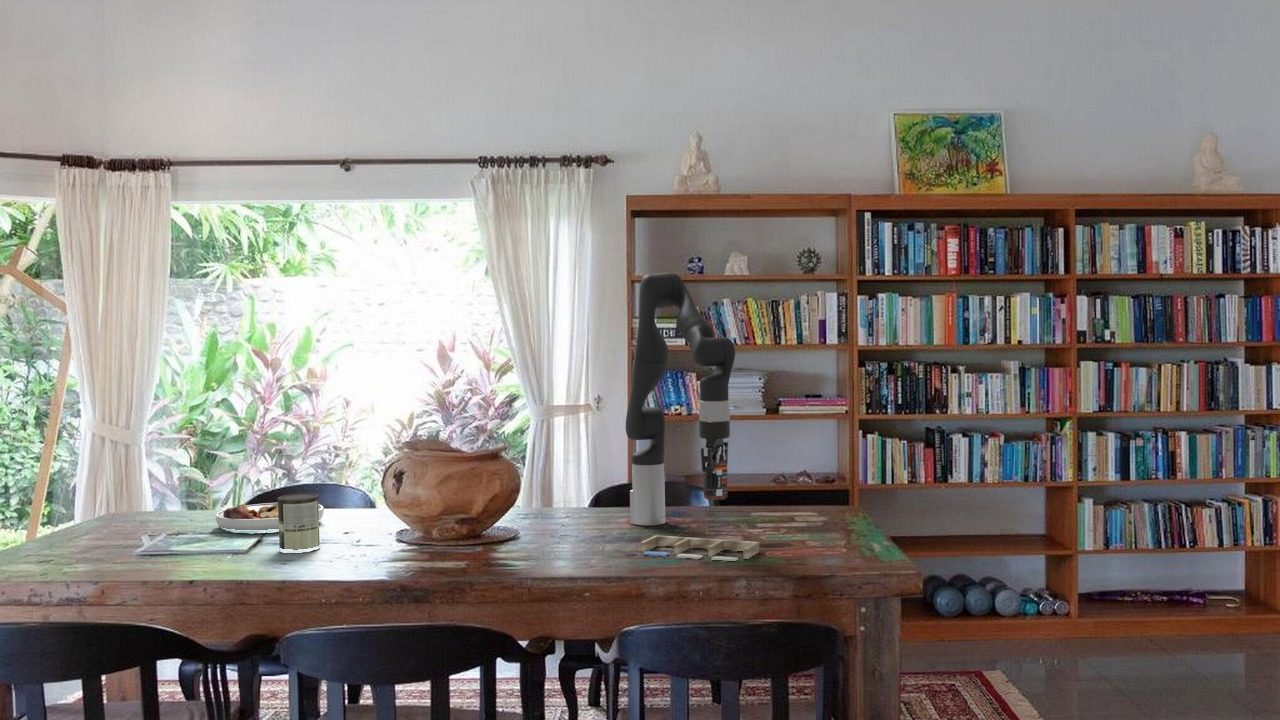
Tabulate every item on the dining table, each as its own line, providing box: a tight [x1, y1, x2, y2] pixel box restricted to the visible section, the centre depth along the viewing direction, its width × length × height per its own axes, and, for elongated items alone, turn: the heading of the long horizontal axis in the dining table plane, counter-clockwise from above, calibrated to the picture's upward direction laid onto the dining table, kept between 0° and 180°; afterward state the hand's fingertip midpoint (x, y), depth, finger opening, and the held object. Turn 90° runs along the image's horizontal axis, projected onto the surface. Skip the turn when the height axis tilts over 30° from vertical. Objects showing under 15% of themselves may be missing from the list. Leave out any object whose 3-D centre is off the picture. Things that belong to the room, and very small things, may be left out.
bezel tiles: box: [642, 550, 739, 562], centre depth 263 cm, size 24×2×1 cm, turn 66°
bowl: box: [215, 502, 325, 530], centre depth 319 cm, size 30×30×8 cm
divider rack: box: [639, 535, 760, 560], centre depth 270 cm, size 28×10×2 cm, turn 66°
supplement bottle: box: [702, 453, 728, 501], centre depth 268 cm, size 6×6×11 cm
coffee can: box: [277, 492, 321, 550], centre depth 283 cm, size 10×10×14 cm
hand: (715, 486), depth 268 cm, fingers closed on supplement bottle, 6 cm apart
